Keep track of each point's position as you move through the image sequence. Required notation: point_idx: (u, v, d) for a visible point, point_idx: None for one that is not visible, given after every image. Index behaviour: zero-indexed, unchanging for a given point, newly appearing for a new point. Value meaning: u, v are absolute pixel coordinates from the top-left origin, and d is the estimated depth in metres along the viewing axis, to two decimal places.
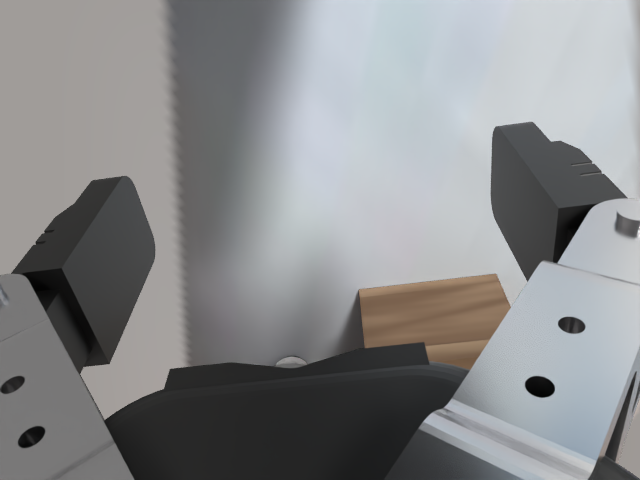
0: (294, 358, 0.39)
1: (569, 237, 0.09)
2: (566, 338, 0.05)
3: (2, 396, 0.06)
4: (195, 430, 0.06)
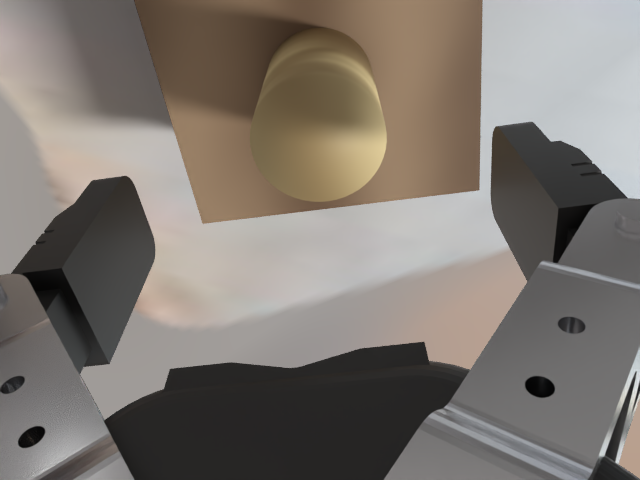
0: None
1: (569, 238, 0.09)
2: (566, 338, 0.05)
3: (2, 396, 0.06)
4: (195, 430, 0.06)
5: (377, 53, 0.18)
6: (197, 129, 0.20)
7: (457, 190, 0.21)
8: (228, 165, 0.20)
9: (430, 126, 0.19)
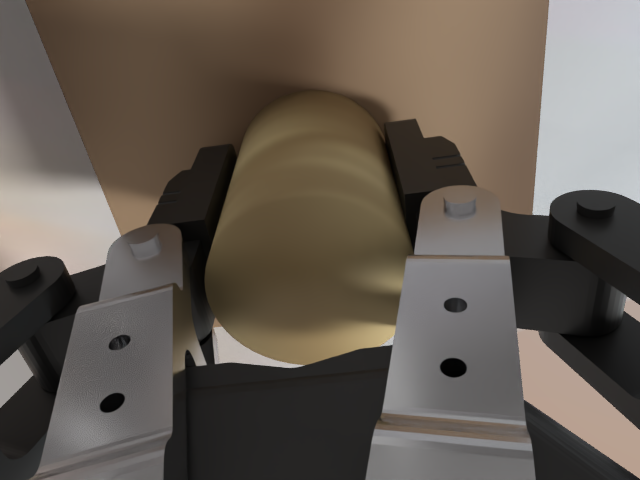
0: None
1: (419, 221, 0.10)
2: (455, 318, 0.06)
3: (107, 351, 0.06)
4: (195, 430, 0.06)
5: None
6: (147, 221, 0.14)
7: None
8: None
9: None
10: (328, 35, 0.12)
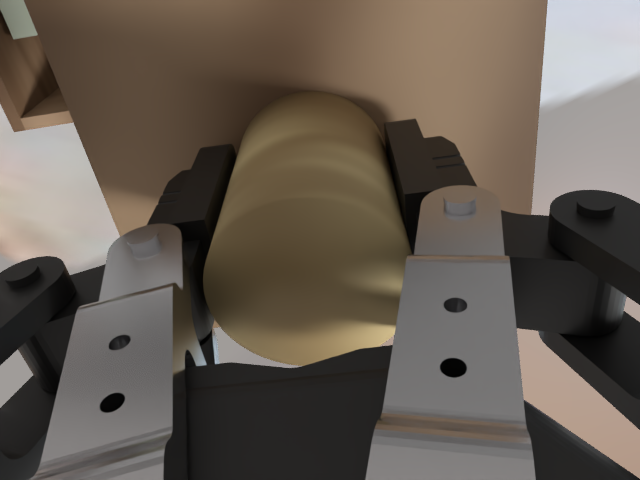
0: None
1: (419, 221, 0.10)
2: (455, 318, 0.06)
3: (107, 351, 0.06)
4: (195, 430, 0.06)
5: None
6: (146, 222, 0.14)
7: None
8: None
9: None
10: (327, 36, 0.12)
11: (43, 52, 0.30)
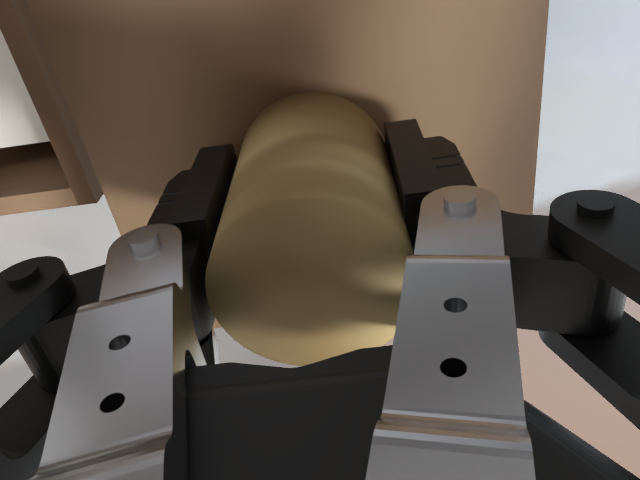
0: None
1: None
2: (455, 318, 0.06)
3: (107, 351, 0.06)
4: (195, 430, 0.06)
5: None
6: (147, 222, 0.14)
7: None
8: None
9: None
10: (328, 37, 0.12)
11: None
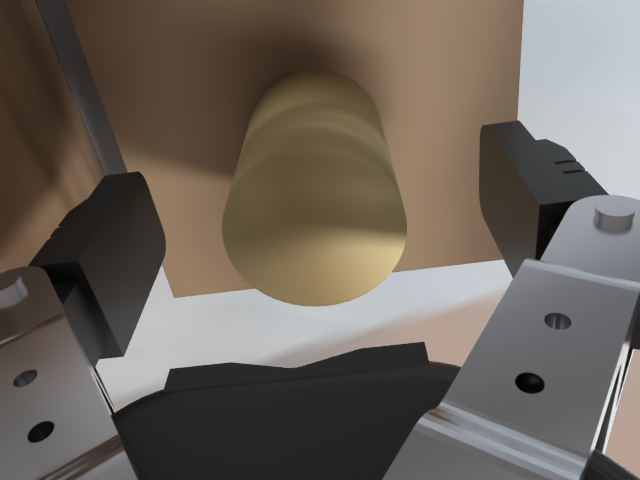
0: None
1: (551, 233, 0.09)
2: (553, 334, 0.05)
3: (15, 389, 0.06)
4: (195, 430, 0.06)
5: (387, 100, 0.14)
6: (164, 191, 0.16)
7: (483, 259, 0.17)
8: (203, 232, 0.17)
9: (452, 186, 0.16)
10: (328, 19, 0.13)
11: None
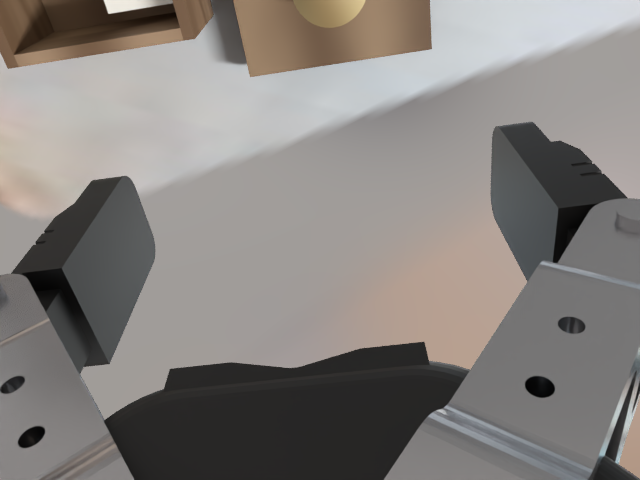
0: None
1: (569, 237, 0.09)
2: (567, 339, 0.05)
3: (2, 396, 0.06)
4: (195, 430, 0.06)
5: None
6: (249, 6, 0.31)
7: (417, 49, 0.32)
8: (268, 32, 0.31)
9: (398, 2, 0.31)
10: None
11: None
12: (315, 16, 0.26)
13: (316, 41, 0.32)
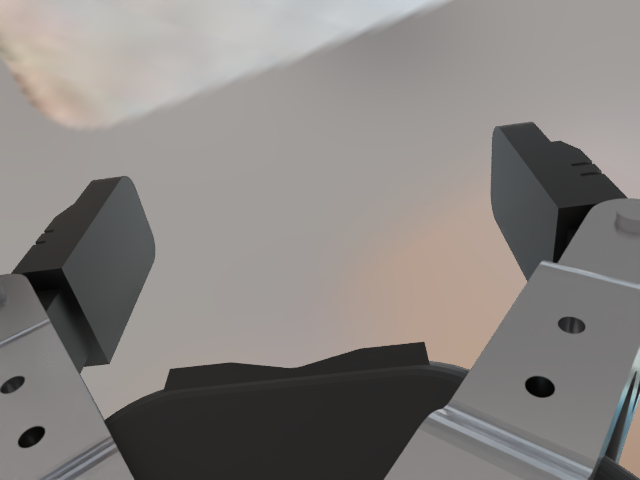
0: None
1: (569, 238, 0.09)
2: (566, 339, 0.05)
3: (2, 396, 0.06)
4: (195, 430, 0.06)
5: None
6: None
7: None
8: None
9: None
10: None
11: None
12: None
13: None
